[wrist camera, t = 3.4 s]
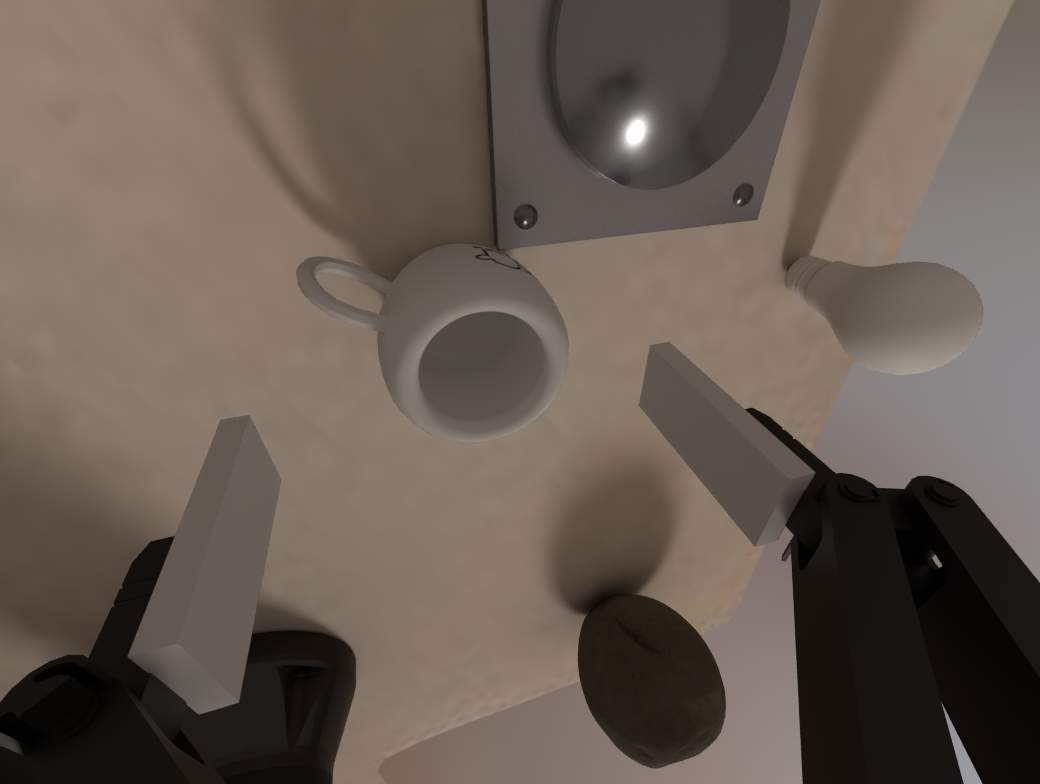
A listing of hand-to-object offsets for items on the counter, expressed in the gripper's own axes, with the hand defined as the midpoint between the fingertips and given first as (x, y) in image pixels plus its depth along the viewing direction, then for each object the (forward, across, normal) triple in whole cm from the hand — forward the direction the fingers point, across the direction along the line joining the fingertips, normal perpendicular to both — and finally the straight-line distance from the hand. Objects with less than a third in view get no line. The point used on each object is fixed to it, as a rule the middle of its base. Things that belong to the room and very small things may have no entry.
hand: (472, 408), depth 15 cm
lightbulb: (+12, +25, -2) cm, 27 cm away
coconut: (+11, +16, -41) cm, 46 cm away
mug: (+11, 0, 0) cm, 11 cm away
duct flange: (+11, +12, +10) cm, 19 cm away
